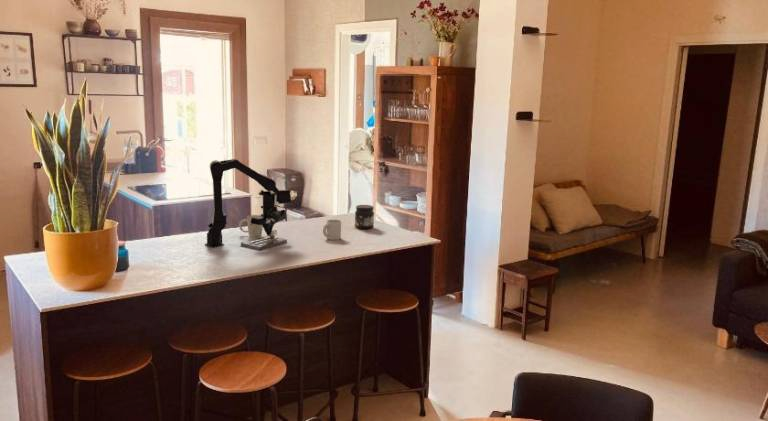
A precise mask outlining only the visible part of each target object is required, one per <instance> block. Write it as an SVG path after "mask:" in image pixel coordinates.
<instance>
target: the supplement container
mask: <svg viewBox="0 0 768 421" xmlns="http://www.w3.org/2000/svg"><path fill="white" fill-rule="evenodd" d="M374 220H375V212H374V206H373V205H371V204H358V205H356V207H355V212H354V227H355V228H356V229H358V230H366V231H367V230H368V231H369V230H371V229H373V228H374V227H375V226H374V223H375V221H374Z"/></svg>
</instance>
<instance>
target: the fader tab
mask: <svg viewBox="0 0 768 421" xmlns="http://www.w3.org/2000/svg"><path fill="white" fill-rule="evenodd" d="M277 235H278V230H277V229H273V228H272V231H271V234H270V239H273V238H275V237H276V236H277Z"/></svg>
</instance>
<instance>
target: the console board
mask: <svg viewBox="0 0 768 421" xmlns="http://www.w3.org/2000/svg"><path fill="white" fill-rule="evenodd" d="M286 243H288V239H287V238H283V237H278V236H275V238H273V239H270V236H267V235H264V236H261V237H257V238H254V239H250V240H245V241H242V242H240V246H241V247H243V248H249V249H252V250H258V251H261V250H264V249H269V248H272V247H275V246H279V245H282V244H286Z"/></svg>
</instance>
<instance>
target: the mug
mask: <svg viewBox="0 0 768 421" xmlns="http://www.w3.org/2000/svg"><path fill="white" fill-rule="evenodd" d="M257 216H258V217H261V214H260V215H259V214H251V215H247V216H246V218H244V219H241V220H240V221H239V223H238V228H239V230H240V231H241V232H243V233H248V236H249V238H254V239H257V238H260V237H262V236H263V234H262V233H263V229H264V228H263V226H262V225H257V224H252V223H251V218H253V217H257ZM262 218H263V217H262ZM243 223H247V230H244V229H243V227H242V224H243Z"/></svg>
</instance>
